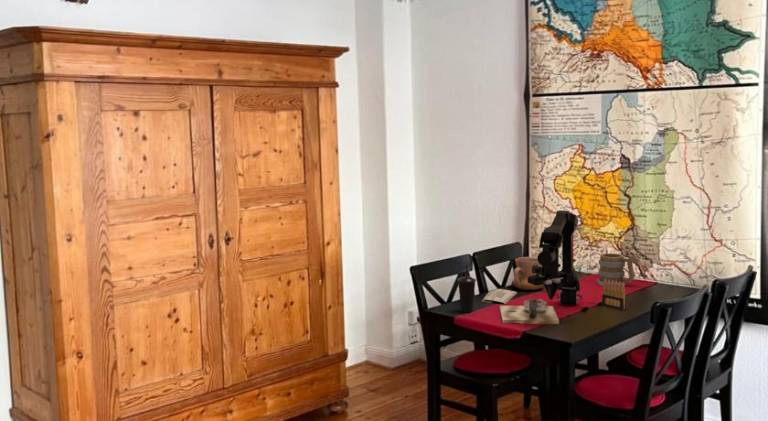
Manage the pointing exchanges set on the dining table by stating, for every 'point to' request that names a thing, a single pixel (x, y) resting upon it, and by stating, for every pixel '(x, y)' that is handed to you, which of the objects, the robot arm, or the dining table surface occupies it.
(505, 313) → the birch board
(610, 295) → the ammunition clip
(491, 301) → the newspaper
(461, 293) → the drinking cup
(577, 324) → the dining table surface
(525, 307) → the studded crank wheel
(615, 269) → the tankard
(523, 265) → the ceramic jug
